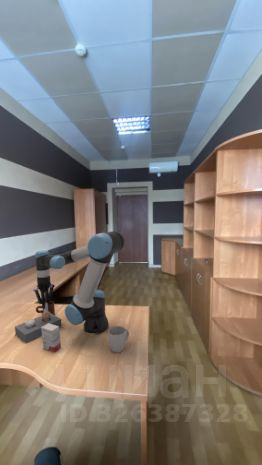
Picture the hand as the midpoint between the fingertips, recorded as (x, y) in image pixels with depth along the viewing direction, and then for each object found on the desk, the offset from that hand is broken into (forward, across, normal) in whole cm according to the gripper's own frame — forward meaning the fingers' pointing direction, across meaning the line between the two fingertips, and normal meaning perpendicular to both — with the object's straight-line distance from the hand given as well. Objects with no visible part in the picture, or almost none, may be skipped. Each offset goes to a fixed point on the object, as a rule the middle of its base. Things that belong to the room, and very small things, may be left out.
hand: (46, 312), depth 133 cm
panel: (+9, +5, 0) cm, 10 cm away
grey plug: (+9, +10, 0) cm, 13 cm away
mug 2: (+9, -14, +50) cm, 53 cm away
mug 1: (+10, -6, -13) cm, 17 cm away
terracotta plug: (+8, 0, 0) cm, 8 cm away
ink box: (+10, +9, +22) cm, 26 cm away
